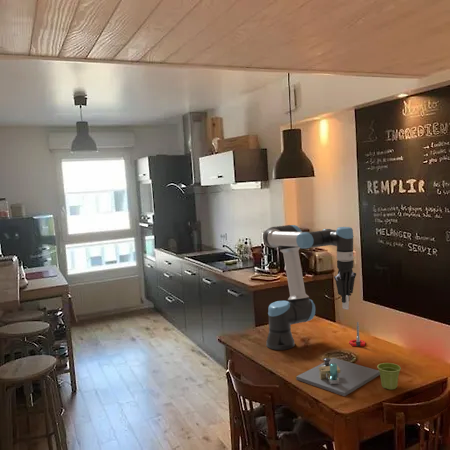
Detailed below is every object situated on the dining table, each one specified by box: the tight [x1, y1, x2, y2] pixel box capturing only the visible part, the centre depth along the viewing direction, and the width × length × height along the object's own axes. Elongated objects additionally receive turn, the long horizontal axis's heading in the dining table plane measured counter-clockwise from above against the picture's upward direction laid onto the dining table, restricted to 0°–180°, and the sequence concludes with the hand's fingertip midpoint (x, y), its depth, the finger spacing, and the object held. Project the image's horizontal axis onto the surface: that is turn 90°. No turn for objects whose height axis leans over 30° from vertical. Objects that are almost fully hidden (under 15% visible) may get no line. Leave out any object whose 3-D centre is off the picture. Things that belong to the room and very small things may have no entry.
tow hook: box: [348, 321, 366, 347], centre depth 254 cm, size 8×13×9 cm
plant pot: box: [376, 362, 402, 390], centre depth 201 cm, size 9×9×9 cm
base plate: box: [295, 357, 380, 397], centre depth 213 cm, size 25×29×2 cm
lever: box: [321, 357, 339, 384], centre depth 211 cm, size 19×5×8 cm, turn 179°
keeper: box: [318, 366, 341, 380], centre depth 209 cm, size 5×8×4 cm, turn 93°
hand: (345, 308), depth 226 cm, fingers closed
